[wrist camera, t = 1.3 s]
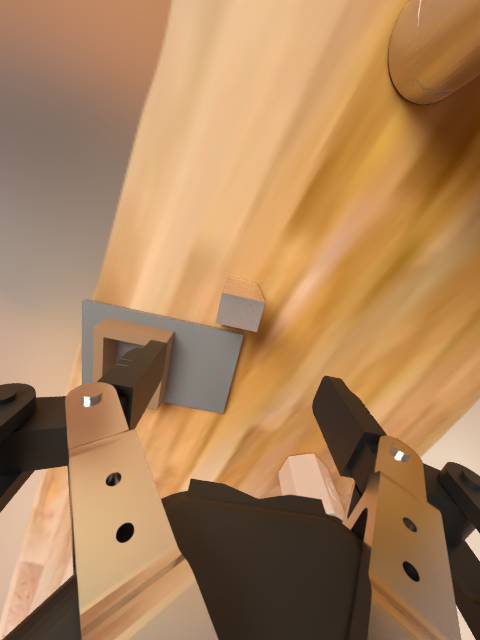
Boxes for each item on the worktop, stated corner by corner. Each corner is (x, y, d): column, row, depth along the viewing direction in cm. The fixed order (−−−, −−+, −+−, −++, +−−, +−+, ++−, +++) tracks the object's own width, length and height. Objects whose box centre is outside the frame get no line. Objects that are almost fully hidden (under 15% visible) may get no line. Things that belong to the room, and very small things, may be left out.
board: (86, 299, 30) (63, 307, 26) (243, 333, 32) (244, 346, 28) (85, 384, 35) (65, 402, 31) (223, 410, 37) (221, 430, 33)
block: (227, 275, 29) (222, 292, 20) (257, 282, 30) (265, 302, 20) (218, 317, 31) (209, 351, 22) (246, 323, 32) (249, 359, 22)
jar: (334, 472, 42) (369, 559, 30) (297, 491, 43) (318, 580, 32) (307, 444, 39) (335, 527, 28) (270, 465, 41) (282, 551, 30)
